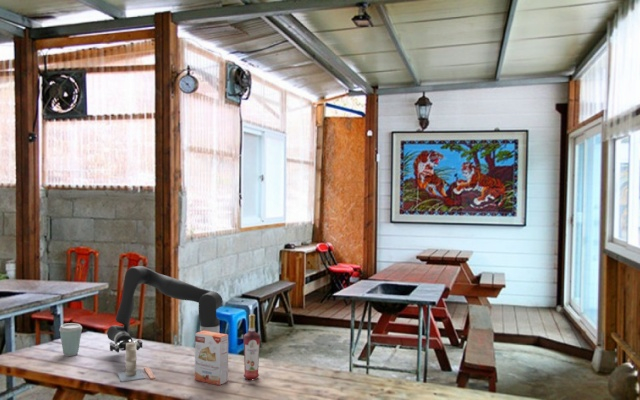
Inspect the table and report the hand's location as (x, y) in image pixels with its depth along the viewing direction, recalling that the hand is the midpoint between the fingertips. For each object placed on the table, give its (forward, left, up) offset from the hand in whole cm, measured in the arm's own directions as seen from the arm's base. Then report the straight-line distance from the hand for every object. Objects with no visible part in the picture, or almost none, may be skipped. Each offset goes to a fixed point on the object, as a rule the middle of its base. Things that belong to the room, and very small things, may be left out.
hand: (128, 349), depth 243 cm
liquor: (-47, +34, -10) cm, 59 cm away
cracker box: (-30, +30, -10) cm, 44 cm away
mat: (0, +8, -10) cm, 13 cm away
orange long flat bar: (-8, +8, -10) cm, 15 cm away
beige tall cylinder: (0, +8, -9) cm, 12 cm away
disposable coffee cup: (+22, -40, -10) cm, 47 cm away
